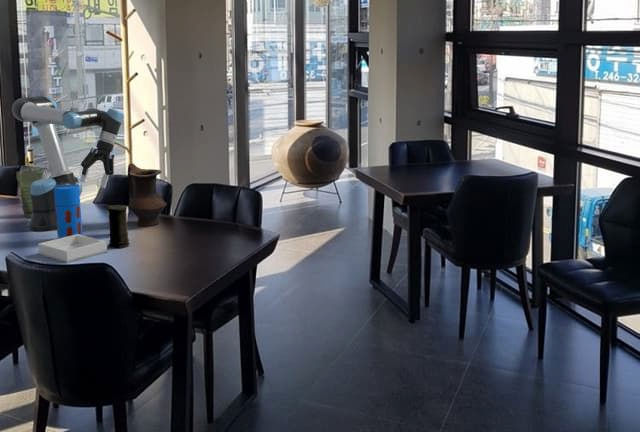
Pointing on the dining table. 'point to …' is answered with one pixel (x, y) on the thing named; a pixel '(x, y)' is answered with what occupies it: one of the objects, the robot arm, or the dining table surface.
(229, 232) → the dining table surface
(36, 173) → the green ribbed vase
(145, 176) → the jug
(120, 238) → the container
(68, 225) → the thermos
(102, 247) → the white bin
